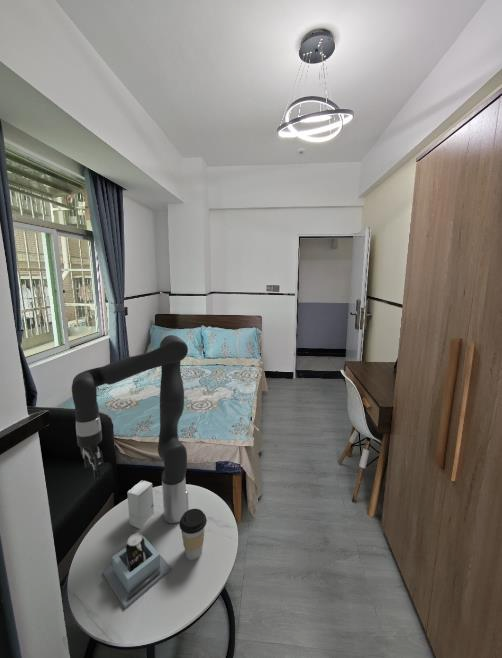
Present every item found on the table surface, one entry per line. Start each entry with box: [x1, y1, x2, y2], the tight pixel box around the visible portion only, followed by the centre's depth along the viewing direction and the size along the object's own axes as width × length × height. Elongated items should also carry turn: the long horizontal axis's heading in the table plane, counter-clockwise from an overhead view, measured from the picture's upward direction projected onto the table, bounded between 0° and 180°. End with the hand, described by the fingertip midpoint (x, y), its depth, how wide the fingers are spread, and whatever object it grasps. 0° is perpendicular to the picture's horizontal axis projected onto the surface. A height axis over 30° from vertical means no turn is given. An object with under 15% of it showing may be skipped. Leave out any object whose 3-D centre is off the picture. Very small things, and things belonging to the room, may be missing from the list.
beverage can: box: [125, 533, 146, 572], centre depth 97 cm, size 6×6×12 cm
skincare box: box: [126, 479, 155, 530], centre depth 118 cm, size 8×6×15 cm
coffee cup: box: [179, 508, 208, 561], centre depth 104 cm, size 9×9×15 cm
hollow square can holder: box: [102, 535, 172, 610], centre depth 98 cm, size 16×16×6 cm
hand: (93, 471), depth 103 cm, fingers open, 8 cm apart
